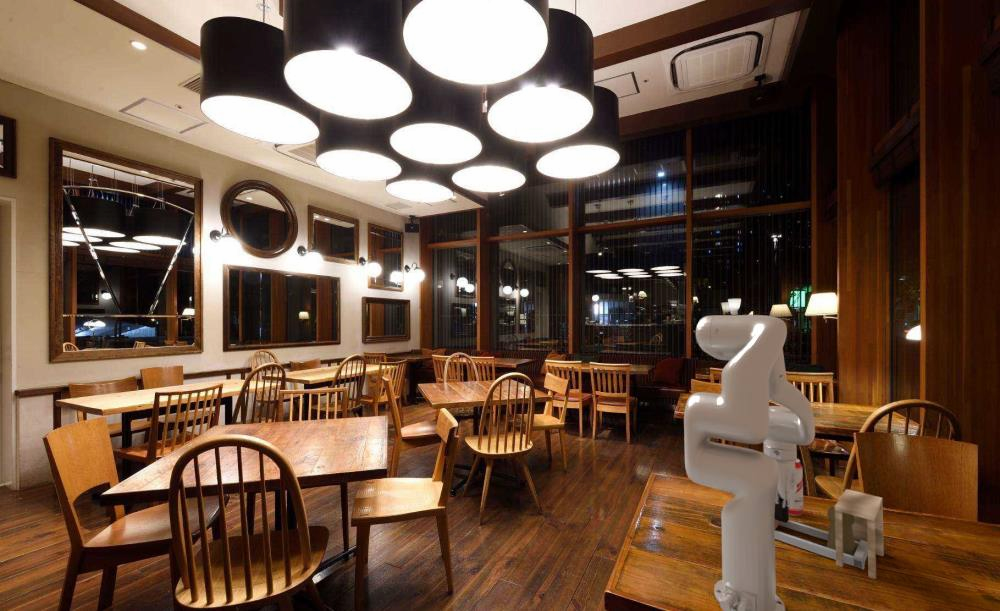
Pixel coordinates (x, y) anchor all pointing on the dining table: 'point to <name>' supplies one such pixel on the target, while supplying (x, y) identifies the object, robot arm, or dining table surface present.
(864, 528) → the stool
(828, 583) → the dining table surface
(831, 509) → the cork
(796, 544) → the sled
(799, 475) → the beer can
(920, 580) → the dining table surface
